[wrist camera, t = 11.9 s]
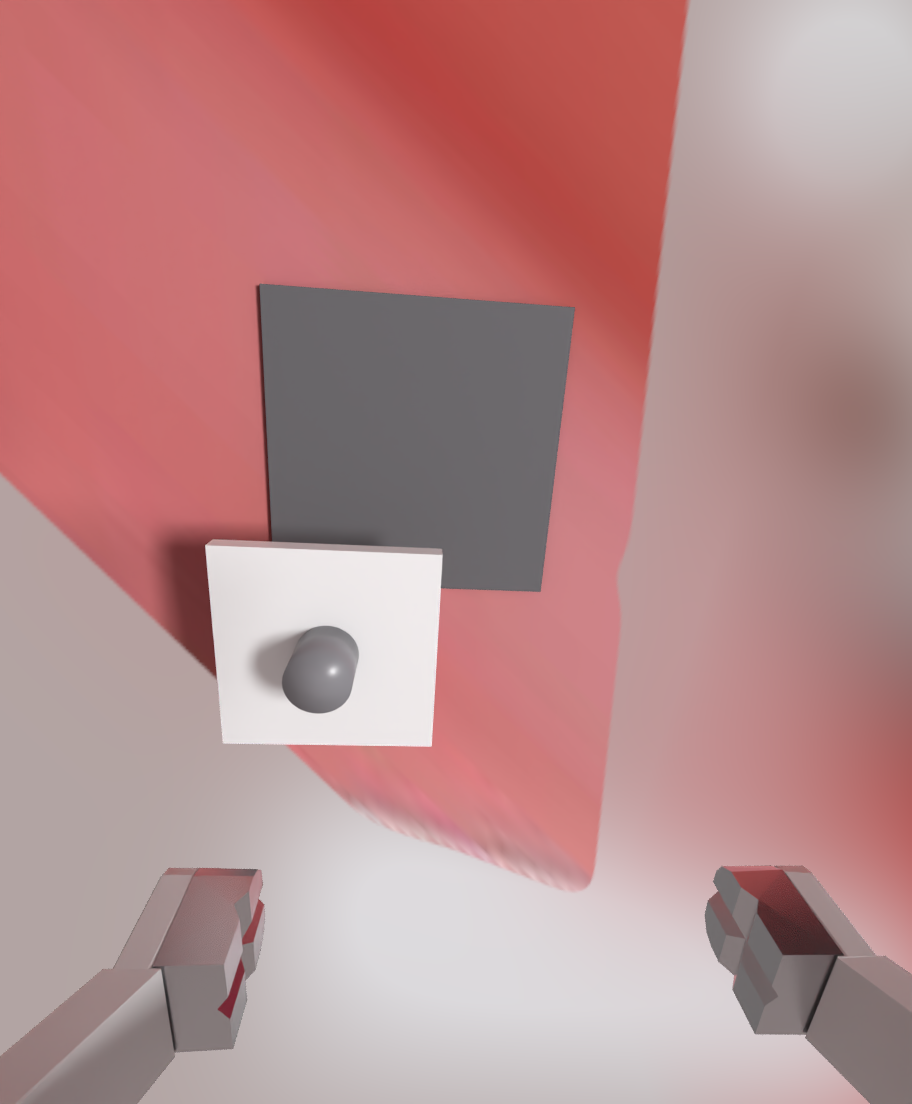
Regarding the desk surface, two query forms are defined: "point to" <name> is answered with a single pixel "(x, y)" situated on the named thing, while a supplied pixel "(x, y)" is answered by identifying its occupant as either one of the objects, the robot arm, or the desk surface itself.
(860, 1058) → the robot arm
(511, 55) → the desk surface
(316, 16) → the desk surface
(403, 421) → the mat
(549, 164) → the desk surface
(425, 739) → the cover
